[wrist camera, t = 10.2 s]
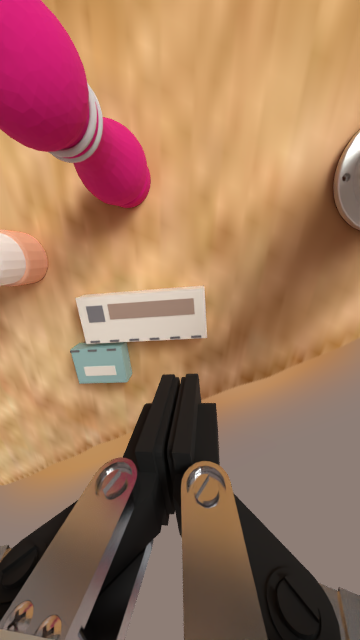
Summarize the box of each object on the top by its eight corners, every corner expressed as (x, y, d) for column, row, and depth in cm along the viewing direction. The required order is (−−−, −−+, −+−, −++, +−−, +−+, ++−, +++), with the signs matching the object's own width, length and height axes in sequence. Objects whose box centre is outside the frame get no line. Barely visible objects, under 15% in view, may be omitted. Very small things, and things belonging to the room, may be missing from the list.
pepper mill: (135, 224, 28) (-4, 155, 9) (89, 189, 27) (-175, 30, 8) (165, 171, 26) (69, -71, 7) (116, 132, 25) (-155, -273, 6)
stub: (126, 340, 33) (120, 347, 30) (132, 373, 35) (127, 382, 32) (79, 343, 34) (69, 350, 31) (87, 374, 36) (79, 384, 33)
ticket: (203, 285, 29) (204, 288, 27) (206, 331, 31) (207, 338, 29) (84, 294, 31) (74, 298, 29) (94, 337, 33) (85, 344, 31)
